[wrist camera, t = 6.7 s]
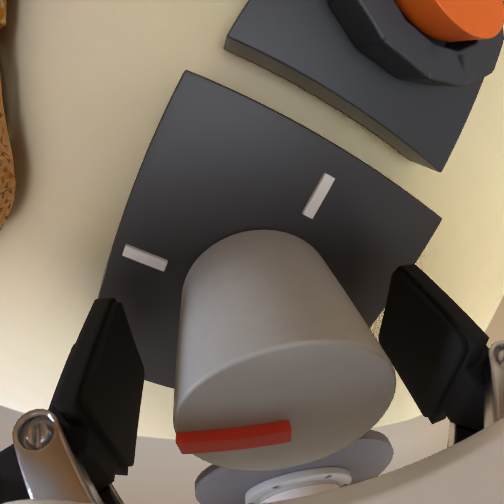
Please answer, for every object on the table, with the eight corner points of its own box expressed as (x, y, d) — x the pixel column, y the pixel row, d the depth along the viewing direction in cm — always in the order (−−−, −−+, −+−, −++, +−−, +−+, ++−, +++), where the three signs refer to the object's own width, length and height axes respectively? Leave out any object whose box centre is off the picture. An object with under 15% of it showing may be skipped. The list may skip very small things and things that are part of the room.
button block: (411, 161, 12) (471, 186, 9) (222, 48, 10) (230, 20, 6) (478, 9, 9) (535, 3, 5) (331, -103, 6) (367, -145, 3)
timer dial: (332, 220, 10) (429, 325, 5) (325, 341, 12) (375, 455, 7) (168, 239, 9) (139, 374, 5) (196, 360, 11) (199, 488, 7)
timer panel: (283, 371, 17) (296, 416, 14) (101, 315, 14) (83, 362, 11) (402, 195, 13) (445, 220, 10) (191, 78, 10) (184, 68, 7)
